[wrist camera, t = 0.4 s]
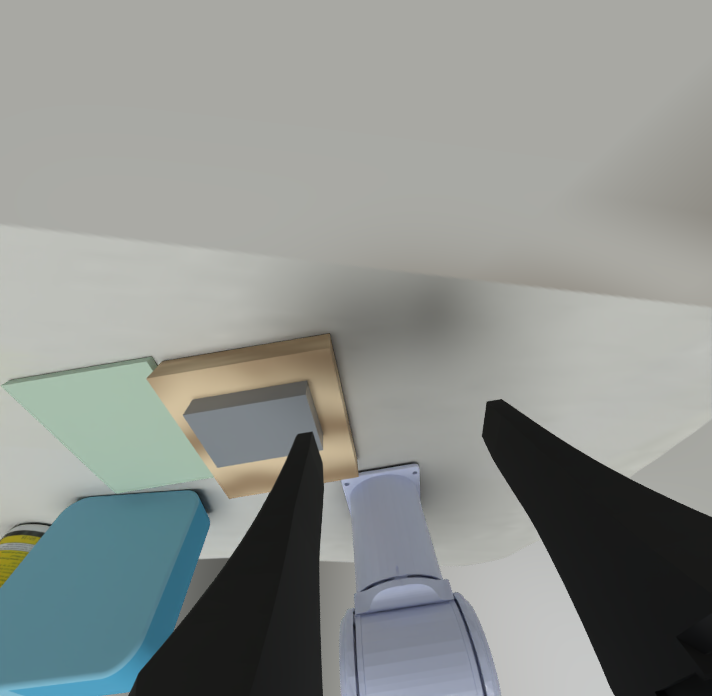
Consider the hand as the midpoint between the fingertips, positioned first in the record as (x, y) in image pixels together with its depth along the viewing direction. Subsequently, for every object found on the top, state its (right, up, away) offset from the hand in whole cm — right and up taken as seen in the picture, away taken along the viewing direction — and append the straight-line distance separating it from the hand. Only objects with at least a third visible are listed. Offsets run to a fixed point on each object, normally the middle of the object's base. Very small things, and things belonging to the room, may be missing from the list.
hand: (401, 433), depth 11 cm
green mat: (-20, -3, +11) cm, 23 cm away
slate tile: (-9, -2, +9) cm, 13 cm away
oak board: (-9, -2, +12) cm, 15 cm away
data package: (-23, -12, +16) cm, 31 cm away
